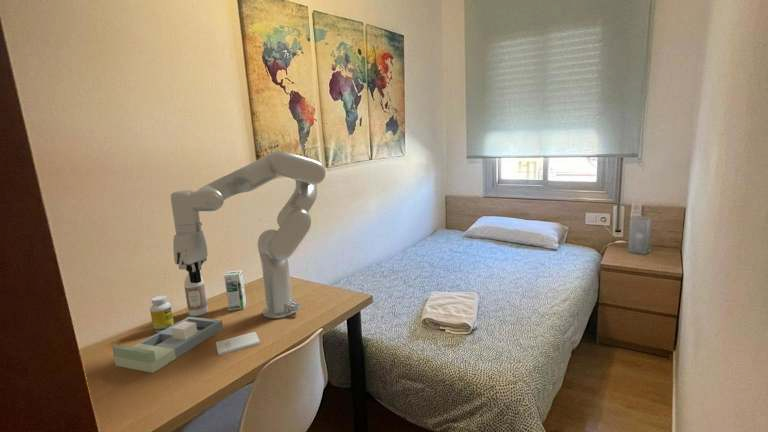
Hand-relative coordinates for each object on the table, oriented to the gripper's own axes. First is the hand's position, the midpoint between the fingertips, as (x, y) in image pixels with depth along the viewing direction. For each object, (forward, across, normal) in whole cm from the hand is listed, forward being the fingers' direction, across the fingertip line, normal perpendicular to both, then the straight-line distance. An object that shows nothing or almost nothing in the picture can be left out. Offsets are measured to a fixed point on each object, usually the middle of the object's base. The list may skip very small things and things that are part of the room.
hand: (195, 282), depth 133 cm
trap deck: (+19, +9, -3) cm, 21 cm away
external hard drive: (+19, +3, +17) cm, 26 cm away
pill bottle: (+19, 0, -18) cm, 26 cm away
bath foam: (+19, -14, -16) cm, 28 cm away
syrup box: (+19, -22, -4) cm, 29 cm away
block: (+15, +7, 0) cm, 17 cm away
